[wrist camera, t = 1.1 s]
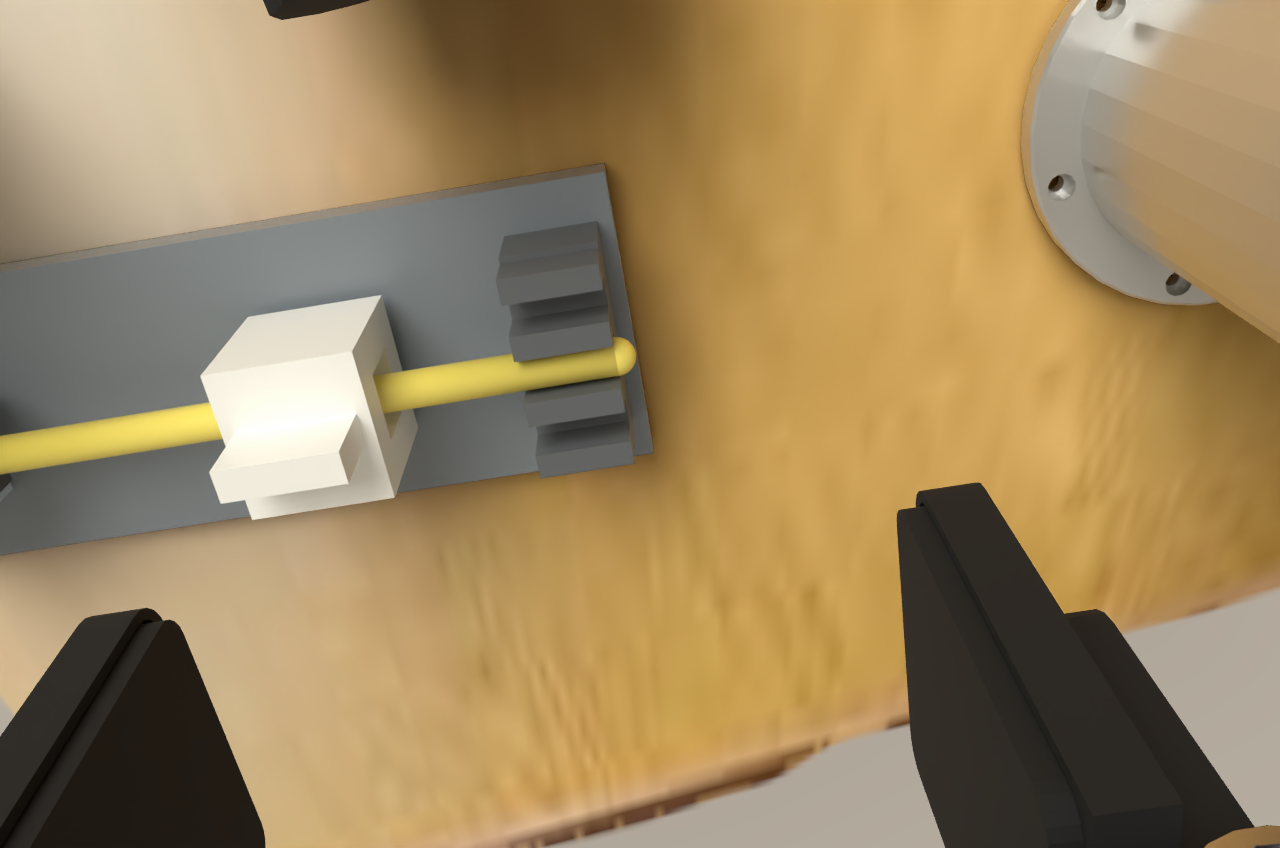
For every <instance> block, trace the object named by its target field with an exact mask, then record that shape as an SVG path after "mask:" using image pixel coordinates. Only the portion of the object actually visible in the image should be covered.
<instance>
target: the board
mask: <svg viewBox="0 0 1280 848" xmlns="http://www.w3.org/2000/svg"><path fill="white" fill-rule="evenodd" d="M378 295H382V298H383V301H384V305H385V309H386V312H387V316H388V320H389V323H390V327H391V331H392V334H393V338H394V341H395V345H396V349H397V352H398V356H399V360H400V363H401V367H402V371H406V370H413V369H419V368H425V367H431V366H438V365H444V364H450V363H456V362H462V361H469V360H475V359H481V358H487V357H494V356H500V355H506V354H512V355H513V360H514V362H520V361H526V360H533V359H539V358H545V357H551V356H558V355H564V354H570V353H576V352H582V351H589V350H595V349H601V348H607V347H613V337H621V338H624V339H626V340H628V341H629V342H630V343H631V344H632V345H633V347H634V349H635V352H636V362H635V364H634V366H633V368H632V369H631V370H630V371H629V372H628V373H626V374H624V375H621V376H615V377H609V378H603V379H597V380H590V381H584V382H578V383H571V384H565V385H559V386H553V387H546V388H540V389H534V390H528V391H521V392H515V393H509V394H502V395H496V396H490V397H484V398H477V399H471V400H465V401H459V402H452V403H446V404H440V405H433V406H427V407H421V408H415V409H413V411H414V414H415V418H416V422H417V425H418V430H417V433H416V436H415V439H414V442H413V445H412V448H411V451H410V454H409V457H408V460H407V463H406V466H405V469H404V472H403V475H402V478H401V481H400V484H399V487H398V490H397V493H402V492H408V491H414V490H421V489H427V488H434V487H440V486H446V485H453V484H459V483H466V482H472V481H478V480H485V479H491V478H498V477H504V476H510V475H517V474H523V473H530V472H536V471H539V475H540V478H546V477H553V476H559V475H565V474H572V473H578V472H585V471H591V470H597V469H604V468H610V467H617V466H623V465H629V464H635V462H634V456H638V455H645V454H651V453H653V442H652V434H651V429H650V423H649V417H648V411H647V406H646V400H645V394H644V388H643V383H642V377H641V371H640V365H639V360H638V354H637V348H636V342H635V336H634V331H633V325H632V319H631V313H630V308H629V302H628V296H627V290H626V285H625V279H624V273H623V267H622V261H621V256H620V250H619V244H618V238H617V233H616V227H615V221H614V215H613V210H612V204H611V198H610V192H609V186H608V181H607V175H606V169H605V163H602V164H596V165H590V166H584V167H578V168H572V169H566V170H560V171H554V172H548V173H542V174H536V175H530V176H524V177H518V178H512V179H506V180H500V181H494V182H488V183H482V184H476V185H470V186H464V187H458V188H452V189H446V190H440V191H434V192H429V193H423V194H417V195H411V196H405V197H399V198H393V199H387V200H381V201H375V202H369V203H363V204H357V205H351V206H345V207H339V208H333V209H327V210H321V211H315V212H309V213H303V214H297V215H291V216H285V217H279V218H273V219H267V220H261V221H255V222H249V223H243V224H237V225H231V226H225V227H219V228H213V229H207V230H201V231H195V232H189V233H183V234H177V235H171V236H165V237H159V238H153V239H148V240H142V241H136V242H130V243H124V244H118V245H112V246H106V247H100V248H94V249H88V250H82V251H76V252H70V253H64V254H58V255H52V256H46V257H40V258H34V259H28V260H22V261H16V262H10V263H4V264H0V436H2V435H9V434H15V433H21V432H27V431H33V430H40V429H46V428H52V427H58V426H65V425H71V424H77V423H83V422H89V421H96V420H102V419H108V418H114V417H121V416H127V415H133V414H139V413H145V412H152V411H158V410H164V409H170V408H176V407H183V406H189V405H195V404H201V403H208V402H209V399H208V396H207V394H206V391H205V388H204V385H203V383H202V380H201V377H200V376H201V374H202V373H203V372H204V371H205V369H206V368H207V367H208V366H209V364H210V363H211V362H212V361H213V360H214V358H215V357H216V356H217V355H218V353H219V352H220V351H221V350H222V348H223V347H224V346H225V345H226V343H227V342H228V341H229V340H230V338H231V337H232V336H233V335H234V334H235V332H236V331H237V330H238V329H239V327H240V326H241V325H242V324H243V322H244V321H245V320H246V319H247V317H250V316H256V315H262V314H268V313H274V312H281V311H287V310H293V309H299V308H305V307H311V306H317V305H323V304H329V303H336V302H342V301H348V300H354V299H360V298H366V297H372V296H378ZM225 447H226V446H225V443H224V441H223V439H220V440H214V441H208V442H201V443H195V444H189V445H182V446H176V447H170V448H164V449H157V450H151V451H145V452H139V453H132V454H126V455H120V456H113V457H107V458H101V459H95V460H88V461H82V462H76V463H70V464H63V465H57V466H51V467H44V468H38V469H32V470H26V471H19V472H13V473H10V475H11V477H12V479H13V480H12V481H11V482H10V483H11V485H12V488H13V489H12V490H11V491H10V492H9V493H8V494H7V495H6V496H5V498H4V499H3V500H2V501H1V502H0V555H5V554H12V553H18V552H24V551H31V550H37V549H44V548H50V547H56V546H63V545H69V544H76V543H82V542H88V541H95V540H101V539H107V538H114V537H120V536H127V535H133V534H139V533H146V532H152V531H159V530H165V529H171V528H178V527H184V526H191V525H197V524H203V523H210V522H216V521H223V520H229V519H235V518H242V517H248V516H251V515H250V513H249V510H248V507H247V504H246V501H245V500H242V501H236V502H230V503H223V504H221V503H220V500H219V498H218V495H217V492H216V490H215V487H214V484H213V482H212V479H211V476H210V474H209V472H210V470H211V469H212V467H213V466H214V464H215V463H216V461H217V460H218V458H219V456H220V455H221V453H222V452H223V450H224V449H225Z"/></svg>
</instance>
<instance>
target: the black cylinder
mask: <svg viewBox="0 0 1280 848" xmlns="http://www.w3.org/2000/svg"><path fill="white" fill-rule="evenodd" d="M263 1H264V3H265V6H266V8H267V11H268V13H269V15H270V16H272V17H275V18H278V19H281V20H284V19H290V18H296V17H302V16H309V15H315V14H320V13H324V12H328V11H332V10H336V9H340V8H344V7H348V6H351V5H355V4H359V3H362V2H366V1H369V0H263Z"/></svg>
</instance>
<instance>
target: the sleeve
mask: <svg viewBox="0 0 1280 848" xmlns="http://www.w3.org/2000/svg"><path fill="white" fill-rule="evenodd" d="M400 371H402V367H401V363H400V360H399V356H398V352H397V349H396V345H395V341H394V338H393V334H392V331H391V327H390V323H389V320H388V316H387V312H386V309H385V305H384V301H383V298H382V295H378V296H372V297H366V298H360V299H354V300H348V301H342V302H336V303H329V304H323V305H317V306H311V307H305V308H299V309H293V310H287V311H281V312H274V313H268V314H262V315H256V316H250V317H247V319H246V320H245V321H244V322H243V324H242V325H241V326H240V327H239V329H238V330H237V331H236V332H235V334H234V335H233V336H232V337H231V338H230V340H229V341H228V342H227V343H226V345H225V346H224V347H223V348H222V350H221V351H220V352H219V353H218V355H217V356H216V357H215V358H214V360H213V361H212V362H211V363H210V364H209V366H208V367H207V368H206V369H205V371H204V372H203V373H202V374H201V376H200V377H201V380H202V383H203V385H204V388H205V391H206V394H207V396H208V399H209V402H210V405H211V407H212V410H213V413H214V416H215V419H216V421H217V424H218V427H219V430H220V432H221V435H222V438H223V441H224V443H225V446H226V447H225V449H224V450H223V452H222V453H221V455H220V456H219V458H218V460H217V461H216V463H215V464H214V466H213V467H212V469H211V470H210V472H209V474H210V476H211V479H212V482H213V484H214V487H215V490H216V492H217V495H218V498H219V500H220V503H221V504H223V503H230V502H236V501H242V500H245V501H246V504H247V507H248V510H249V513H250V515H251V518H252V520H256V519H262V518H269V517H275V516H282V515H288V514H294V513H301V512H307V511H314V510H320V509H326V508H333V507H339V506H346V505H352V504H358V503H365V502H371V501H378V500H384V499H390V498H395V496H396V493H397V490H398V487H399V484H400V481H401V478H402V475H403V472H404V469H405V466H406V463H407V460H408V457H409V454H410V451H411V448H412V445H413V442H414V439H415V436H416V433H417V430H418V425H417V422H416V418H415V414H414V411H413V409H408V410H402V411H396V412H390V413H383V410H382V407H381V403H380V400H379V396H378V393H377V389H376V386H375V383H374V379H373V376H375V375H382V374H388V373H394V372H400Z"/></svg>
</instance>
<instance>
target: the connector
mask: <svg viewBox="0 0 1280 848" xmlns="http://www.w3.org/2000/svg"><path fill="white" fill-rule="evenodd" d="M12 480H13V479H12V477H11V475H10V473H7V474H1V475H0V502H1V501H2V500H3V499H4V498H5V496H6V495H7V494H8V493H9V492H10V491H11V490H12V489H13V488H12V485H11V483H10V482H11V481H12Z"/></svg>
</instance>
